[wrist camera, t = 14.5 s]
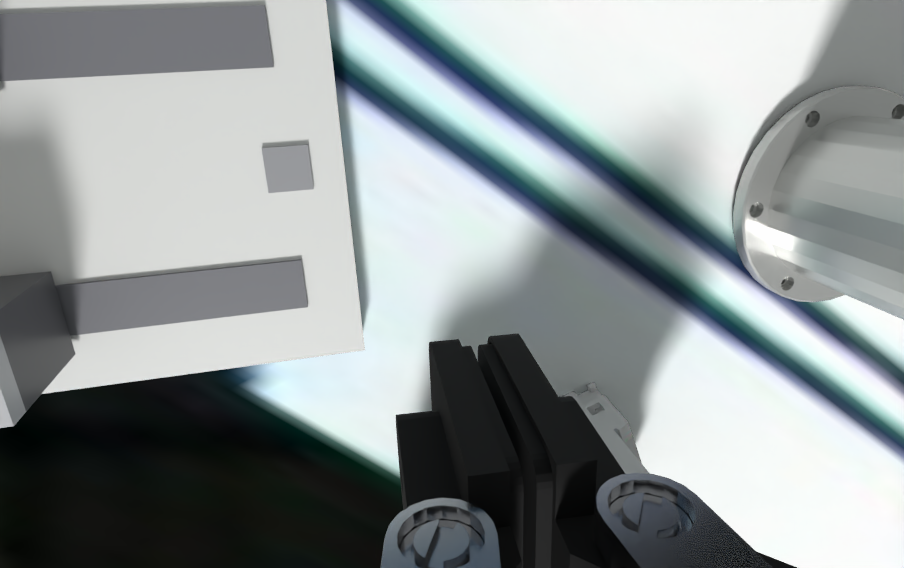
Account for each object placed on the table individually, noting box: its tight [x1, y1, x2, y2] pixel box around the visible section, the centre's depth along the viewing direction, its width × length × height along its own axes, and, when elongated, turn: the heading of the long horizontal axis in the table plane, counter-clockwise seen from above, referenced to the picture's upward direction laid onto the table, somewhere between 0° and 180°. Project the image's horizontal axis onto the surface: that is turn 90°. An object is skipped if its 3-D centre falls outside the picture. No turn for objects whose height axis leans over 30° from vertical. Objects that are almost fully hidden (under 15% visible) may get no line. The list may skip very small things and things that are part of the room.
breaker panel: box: [0, 0, 365, 394], centre depth 26 cm, size 20×20×2 cm
